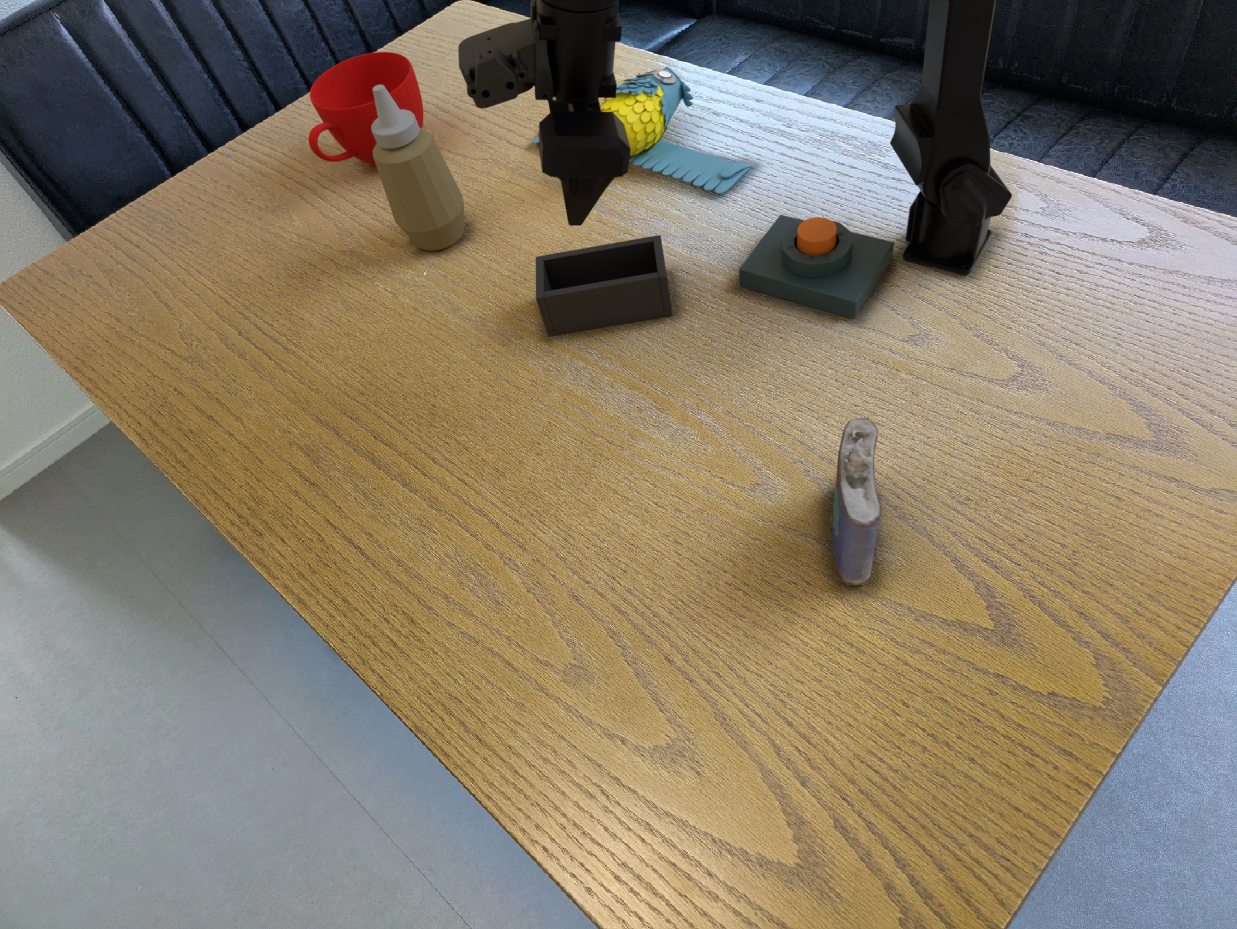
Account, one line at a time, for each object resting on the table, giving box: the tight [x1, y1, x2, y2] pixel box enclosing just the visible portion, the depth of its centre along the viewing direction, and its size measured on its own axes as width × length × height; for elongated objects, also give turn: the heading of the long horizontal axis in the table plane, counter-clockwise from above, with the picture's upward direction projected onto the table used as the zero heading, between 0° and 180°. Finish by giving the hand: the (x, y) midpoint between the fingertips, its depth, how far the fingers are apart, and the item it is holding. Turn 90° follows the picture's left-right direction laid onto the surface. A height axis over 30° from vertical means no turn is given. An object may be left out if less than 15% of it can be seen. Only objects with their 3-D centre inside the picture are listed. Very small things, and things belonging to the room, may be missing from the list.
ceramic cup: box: [307, 51, 424, 168], centre depth 102 cm, size 13×17×10 cm
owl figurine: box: [531, 65, 752, 195], centre depth 94 cm, size 28×9×15 cm
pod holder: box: [535, 234, 674, 337], centre depth 81 cm, size 13×6×5 cm, turn 94°
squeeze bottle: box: [371, 85, 465, 252], centre depth 87 cm, size 8×8×18 cm
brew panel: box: [738, 214, 895, 320], centre depth 79 cm, size 12×9×4 cm
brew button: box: [797, 216, 837, 256], centre depth 77 cm, size 4×4×2 cm
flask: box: [830, 417, 882, 586], centre depth 59 cm, size 9×3×11 cm, turn 172°
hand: (569, 191), depth 69 cm, fingers open, 9 cm apart
